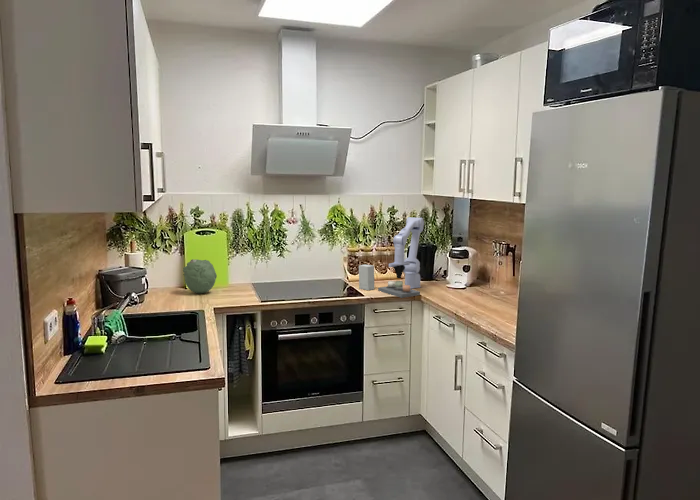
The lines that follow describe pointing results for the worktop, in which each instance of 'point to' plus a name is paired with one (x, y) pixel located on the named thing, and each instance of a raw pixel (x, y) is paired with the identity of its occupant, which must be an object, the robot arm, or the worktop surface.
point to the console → (398, 291)
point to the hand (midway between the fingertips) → (398, 278)
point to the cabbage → (199, 275)
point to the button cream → (391, 283)
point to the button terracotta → (406, 288)
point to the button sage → (398, 284)
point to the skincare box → (366, 277)
